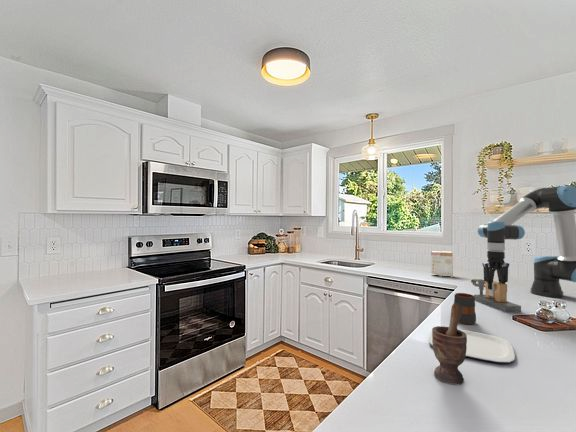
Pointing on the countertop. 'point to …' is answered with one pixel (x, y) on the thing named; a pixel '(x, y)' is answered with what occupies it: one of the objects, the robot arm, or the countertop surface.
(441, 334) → the mortar and pestle
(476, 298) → the rail
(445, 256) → the coffeecake box
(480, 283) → the mechanical component
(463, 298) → the mug
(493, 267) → the robot arm
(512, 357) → the plate
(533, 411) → the countertop surface
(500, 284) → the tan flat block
